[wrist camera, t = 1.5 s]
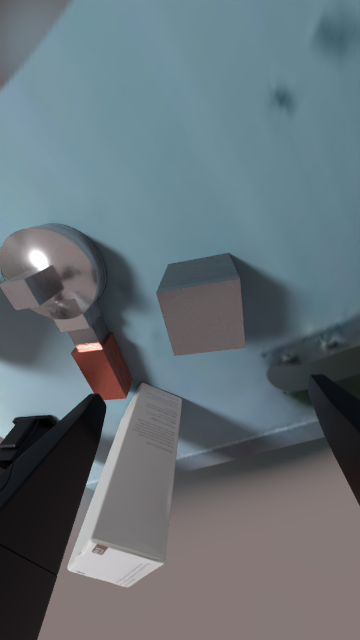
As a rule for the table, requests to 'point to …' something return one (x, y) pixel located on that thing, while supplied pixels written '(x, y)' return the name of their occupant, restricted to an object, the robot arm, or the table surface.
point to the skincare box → (133, 494)
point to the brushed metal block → (202, 305)
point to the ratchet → (66, 297)
